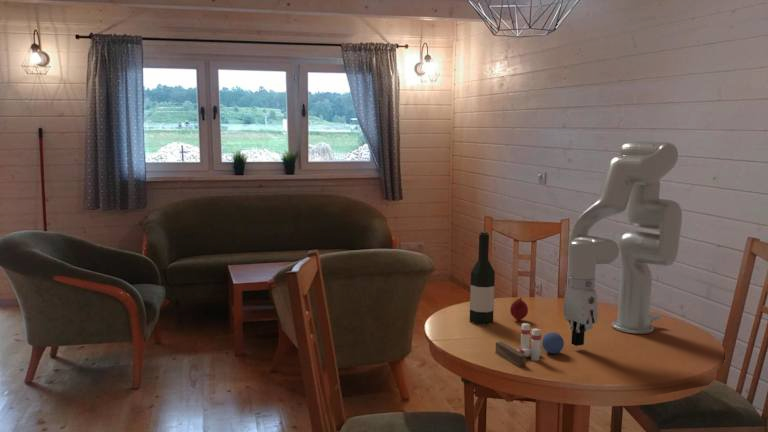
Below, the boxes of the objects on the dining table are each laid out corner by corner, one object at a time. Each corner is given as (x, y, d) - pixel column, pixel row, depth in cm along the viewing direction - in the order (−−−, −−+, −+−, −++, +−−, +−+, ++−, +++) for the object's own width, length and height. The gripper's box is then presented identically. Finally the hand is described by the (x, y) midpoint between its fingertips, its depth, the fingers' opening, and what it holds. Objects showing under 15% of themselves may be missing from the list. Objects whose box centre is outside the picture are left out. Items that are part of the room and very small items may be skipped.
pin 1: (525, 351, 187) (527, 322, 186) (530, 354, 185) (532, 325, 183) (518, 352, 186) (519, 323, 185) (523, 355, 184) (524, 326, 182)
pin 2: (536, 357, 182) (537, 328, 181) (541, 360, 180) (542, 330, 179) (528, 358, 181) (529, 329, 180) (533, 361, 179) (535, 331, 178)
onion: (527, 323, 213) (528, 300, 212) (509, 322, 214) (510, 299, 213) (527, 318, 219) (528, 295, 218) (510, 317, 220) (510, 294, 219)
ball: (534, 337, 186) (542, 353, 188) (547, 344, 181) (555, 360, 183) (550, 325, 188) (557, 341, 190) (563, 332, 182) (571, 348, 184)
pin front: (537, 345, 185) (512, 348, 181) (542, 348, 183) (517, 352, 179) (536, 353, 185) (511, 357, 182) (541, 356, 183) (516, 360, 180)
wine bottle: (474, 325, 211) (477, 234, 207) (465, 318, 219) (467, 230, 215) (498, 323, 213) (501, 233, 209) (488, 316, 221) (491, 229, 217)
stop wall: (501, 351, 186) (501, 341, 186) (525, 366, 175) (526, 355, 175) (495, 352, 186) (495, 342, 185) (519, 367, 175) (519, 356, 174)
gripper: (609, 288, 181) (605, 351, 183) (574, 276, 195) (571, 335, 197) (587, 290, 178) (584, 354, 181) (553, 278, 192) (551, 338, 194)
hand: (577, 344), depth 189 cm, fingers closed
